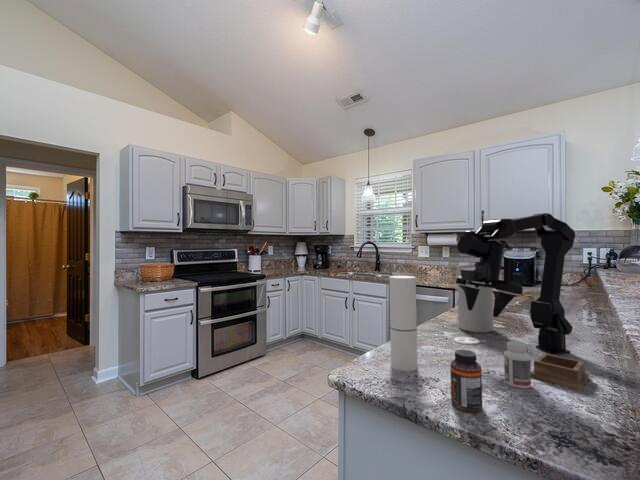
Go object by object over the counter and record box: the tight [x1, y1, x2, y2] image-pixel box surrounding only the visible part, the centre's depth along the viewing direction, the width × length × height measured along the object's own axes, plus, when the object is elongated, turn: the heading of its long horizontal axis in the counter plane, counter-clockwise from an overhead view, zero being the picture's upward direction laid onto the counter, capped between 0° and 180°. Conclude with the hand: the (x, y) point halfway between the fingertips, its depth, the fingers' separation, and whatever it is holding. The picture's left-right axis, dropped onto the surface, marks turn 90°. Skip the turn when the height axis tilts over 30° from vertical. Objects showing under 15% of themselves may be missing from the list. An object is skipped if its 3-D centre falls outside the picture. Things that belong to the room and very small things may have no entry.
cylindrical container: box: [388, 275, 418, 372], centre depth 85 cm, size 7×7×25 cm
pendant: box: [453, 336, 487, 346], centre depth 106 cm, size 7×11×1 cm, turn 94°
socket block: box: [531, 352, 590, 391], centre depth 77 cm, size 10×10×4 cm
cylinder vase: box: [456, 264, 495, 334], centre depth 121 cm, size 12×12×25 cm
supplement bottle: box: [449, 349, 483, 414], centre depth 64 cm, size 6×6×11 cm
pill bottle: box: [503, 340, 532, 389], centre depth 74 cm, size 5×5×10 cm
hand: (481, 313), depth 89 cm, fingers open, 9 cm apart
